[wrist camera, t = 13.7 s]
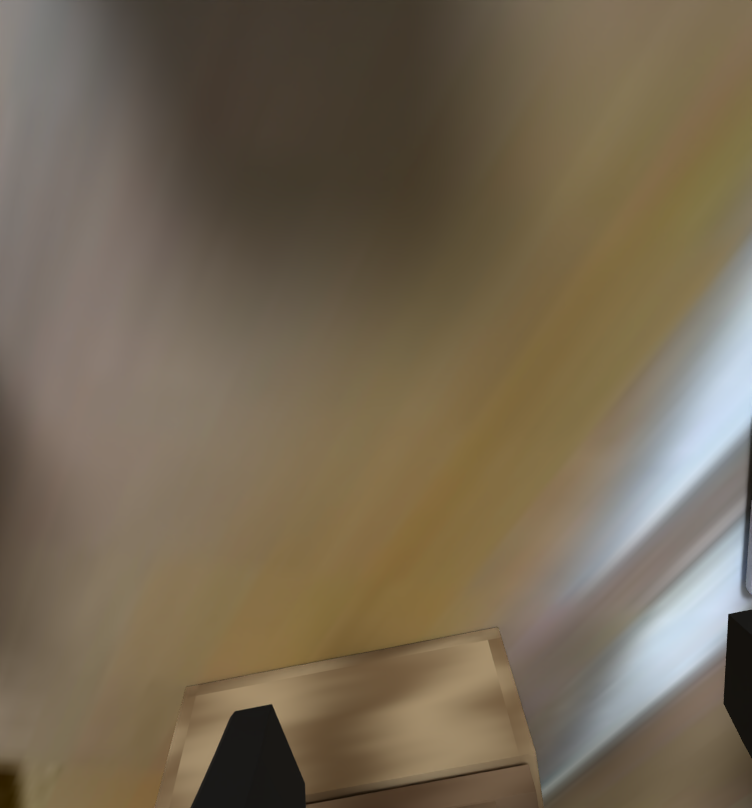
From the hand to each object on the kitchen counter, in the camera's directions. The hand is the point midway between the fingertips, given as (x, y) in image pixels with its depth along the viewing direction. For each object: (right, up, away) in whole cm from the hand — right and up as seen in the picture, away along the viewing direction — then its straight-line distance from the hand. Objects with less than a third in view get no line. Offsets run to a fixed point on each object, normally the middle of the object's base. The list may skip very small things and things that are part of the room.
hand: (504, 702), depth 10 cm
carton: (-3, -9, +16) cm, 18 cm away
